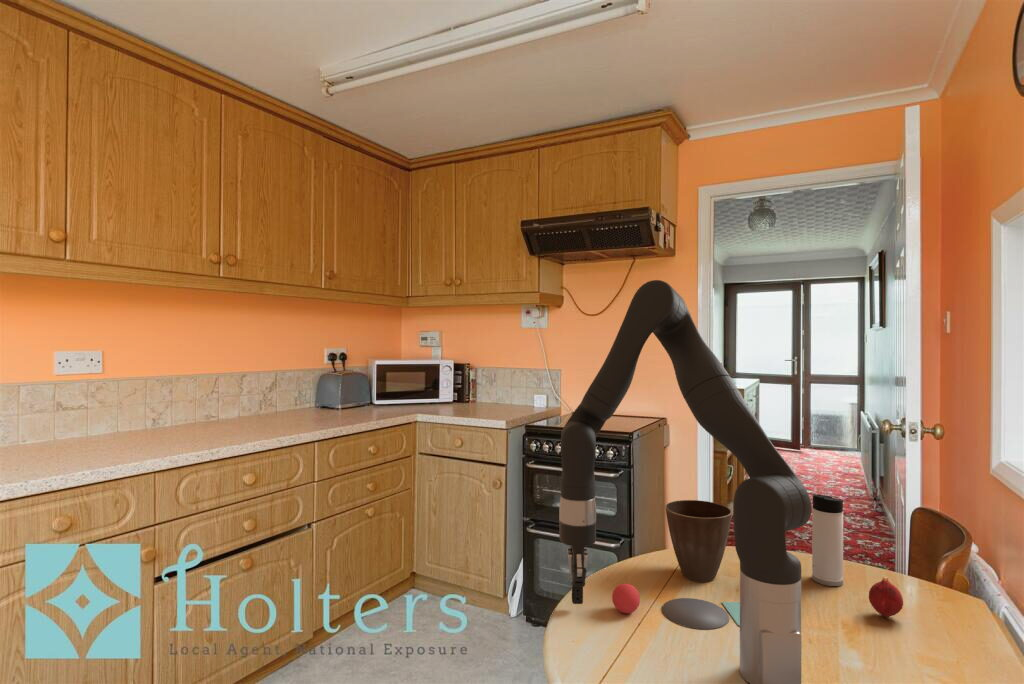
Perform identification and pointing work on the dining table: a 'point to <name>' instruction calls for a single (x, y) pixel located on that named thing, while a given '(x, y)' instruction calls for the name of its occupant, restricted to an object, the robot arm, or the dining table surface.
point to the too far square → (733, 610)
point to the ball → (626, 598)
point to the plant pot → (698, 536)
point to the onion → (885, 598)
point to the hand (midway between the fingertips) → (577, 602)
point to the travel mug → (827, 540)
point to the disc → (695, 613)
